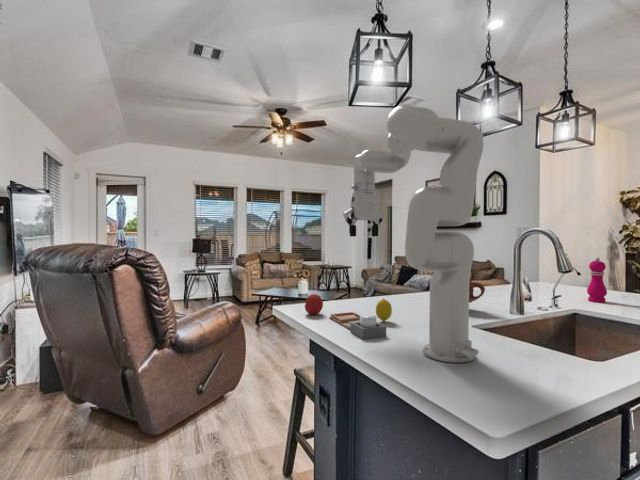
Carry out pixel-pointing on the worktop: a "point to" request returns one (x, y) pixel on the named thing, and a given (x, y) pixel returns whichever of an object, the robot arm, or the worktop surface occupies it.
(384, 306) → the lemon
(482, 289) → the brown mug
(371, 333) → the housing
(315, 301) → the tomato
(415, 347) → the worktop surface
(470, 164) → the robot arm
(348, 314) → the board
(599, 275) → the pepper mill
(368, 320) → the dome
